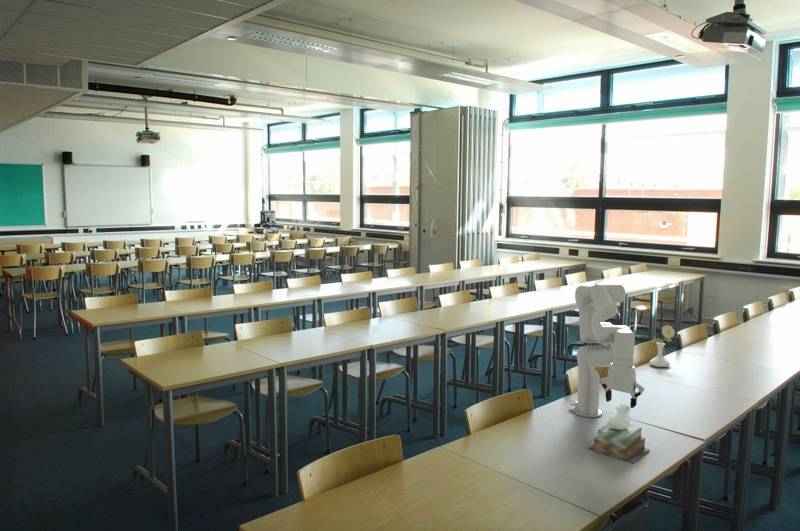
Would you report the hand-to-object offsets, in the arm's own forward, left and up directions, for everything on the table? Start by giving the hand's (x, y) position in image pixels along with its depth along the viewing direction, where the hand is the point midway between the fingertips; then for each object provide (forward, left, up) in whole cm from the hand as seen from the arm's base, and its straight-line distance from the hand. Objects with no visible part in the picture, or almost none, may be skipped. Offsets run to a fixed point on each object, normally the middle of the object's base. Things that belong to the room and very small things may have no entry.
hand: (620, 403), depth 229 cm
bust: (0, 0, -10) cm, 10 cm away
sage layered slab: (0, 0, -19) cm, 19 cm away
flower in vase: (-33, +132, -19) cm, 137 cm away
